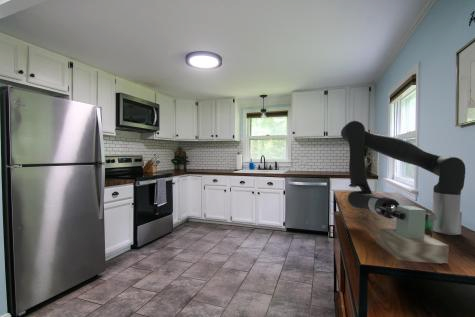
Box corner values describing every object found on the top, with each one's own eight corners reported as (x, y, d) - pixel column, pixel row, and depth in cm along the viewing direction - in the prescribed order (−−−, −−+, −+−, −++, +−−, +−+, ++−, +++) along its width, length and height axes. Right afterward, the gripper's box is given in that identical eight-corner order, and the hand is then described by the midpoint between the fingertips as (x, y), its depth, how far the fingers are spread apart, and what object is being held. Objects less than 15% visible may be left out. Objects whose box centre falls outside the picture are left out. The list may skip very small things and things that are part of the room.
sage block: (411, 233, 86) (412, 206, 86) (424, 238, 80) (425, 209, 80) (395, 232, 86) (397, 205, 85) (407, 238, 80) (409, 209, 80)
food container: (442, 241, 95) (444, 216, 95) (424, 240, 97) (426, 214, 96) (425, 232, 107) (426, 209, 107) (409, 230, 109) (410, 208, 108)
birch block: (416, 246, 90) (417, 230, 90) (447, 265, 75) (448, 245, 75) (376, 243, 91) (377, 227, 91) (399, 261, 76) (400, 242, 76)
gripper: (366, 196, 97) (395, 205, 80) (401, 197, 97) (437, 206, 81) (365, 215, 97) (393, 227, 80) (400, 216, 97) (435, 229, 81)
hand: (415, 217), depth 81 cm, fingers open, 7 cm apart
